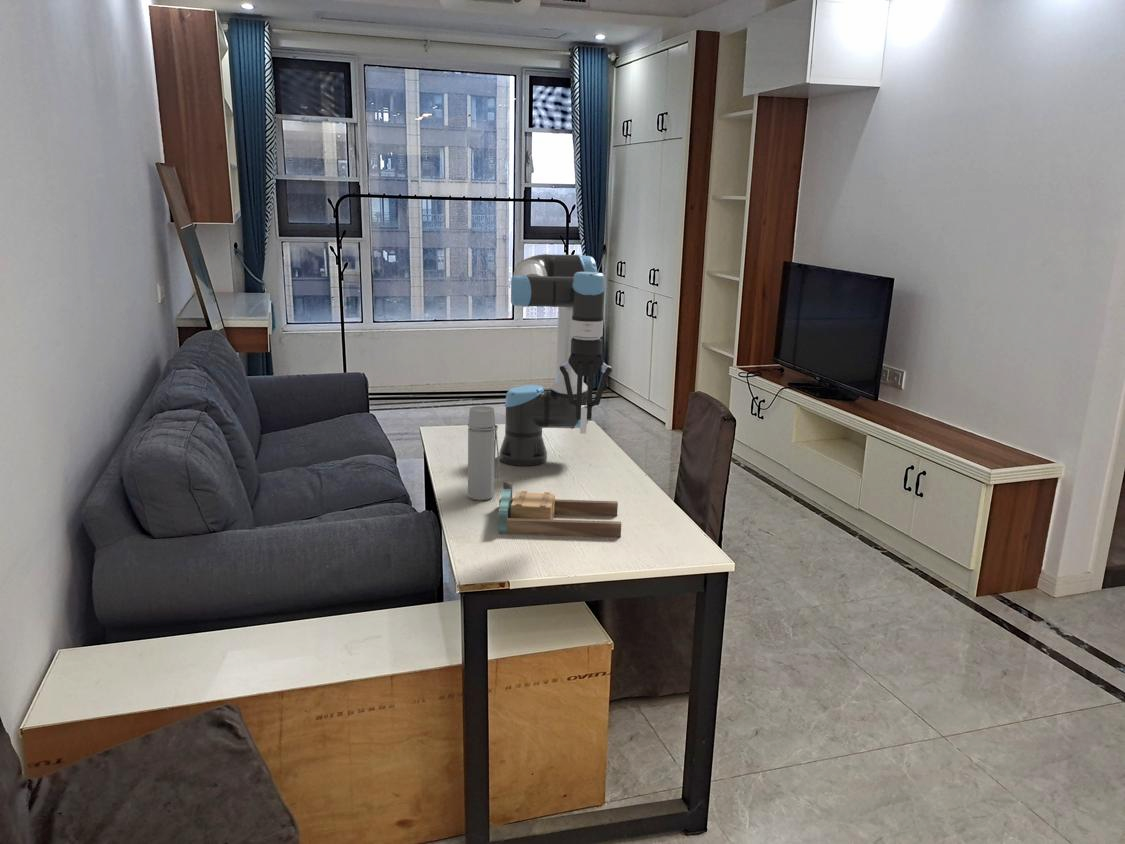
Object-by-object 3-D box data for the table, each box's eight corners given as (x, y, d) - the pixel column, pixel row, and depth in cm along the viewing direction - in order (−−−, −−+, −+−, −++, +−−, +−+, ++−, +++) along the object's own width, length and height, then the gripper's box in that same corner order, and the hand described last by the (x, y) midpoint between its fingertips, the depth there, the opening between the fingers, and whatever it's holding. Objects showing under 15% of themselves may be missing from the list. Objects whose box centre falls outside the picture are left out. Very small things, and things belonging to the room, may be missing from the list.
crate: (516, 513, 218) (516, 490, 216) (554, 516, 217) (554, 492, 215) (510, 527, 208) (510, 503, 206) (550, 530, 207) (550, 506, 206)
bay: (499, 504, 223) (500, 479, 221) (615, 508, 223) (617, 483, 222) (493, 533, 204) (493, 506, 202) (620, 537, 204) (622, 510, 202)
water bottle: (473, 503, 223) (474, 413, 217) (463, 494, 230) (463, 406, 224) (505, 499, 227) (506, 410, 221) (493, 490, 234) (494, 403, 228)
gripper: (559, 339, 196) (556, 435, 202) (614, 340, 196) (610, 437, 202) (559, 334, 203) (556, 427, 209) (613, 335, 203) (608, 429, 209)
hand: (583, 432), depth 205 cm, fingers closed
